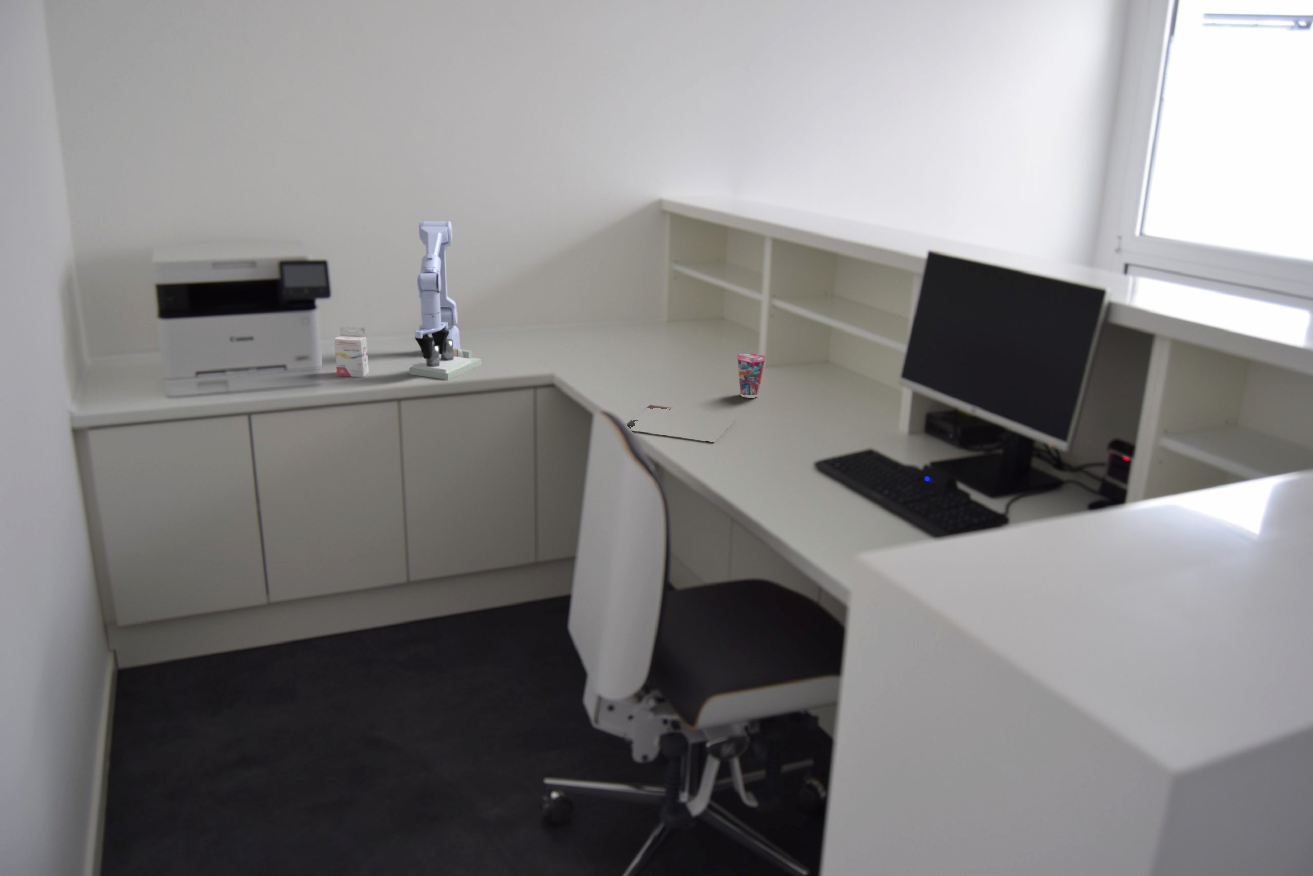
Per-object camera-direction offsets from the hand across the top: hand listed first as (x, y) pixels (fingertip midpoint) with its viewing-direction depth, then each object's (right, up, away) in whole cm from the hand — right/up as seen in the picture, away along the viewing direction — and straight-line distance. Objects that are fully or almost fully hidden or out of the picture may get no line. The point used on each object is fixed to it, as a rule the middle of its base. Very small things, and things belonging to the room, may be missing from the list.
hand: (433, 356), depth 306 cm
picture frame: (+75, -22, -38) cm, 87 cm away
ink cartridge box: (-25, -6, 0) cm, 25 cm away
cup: (+96, -13, -12) cm, 98 cm away
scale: (+3, -3, +8) cm, 9 cm away
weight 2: (+3, 0, +8) cm, 8 cm away
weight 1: (0, -3, +1) cm, 3 cm away
